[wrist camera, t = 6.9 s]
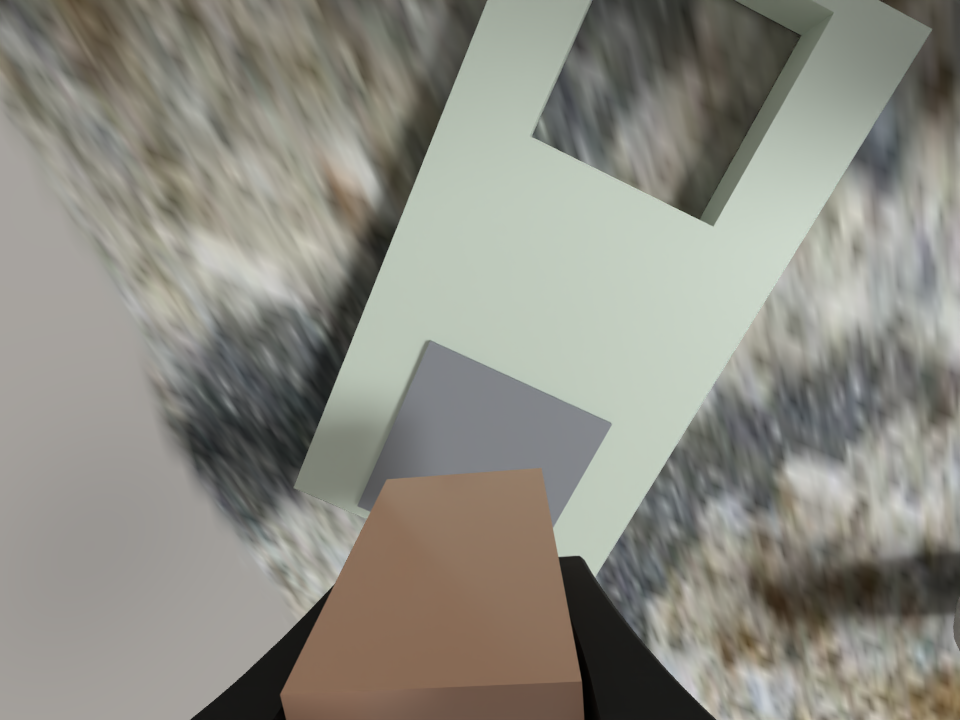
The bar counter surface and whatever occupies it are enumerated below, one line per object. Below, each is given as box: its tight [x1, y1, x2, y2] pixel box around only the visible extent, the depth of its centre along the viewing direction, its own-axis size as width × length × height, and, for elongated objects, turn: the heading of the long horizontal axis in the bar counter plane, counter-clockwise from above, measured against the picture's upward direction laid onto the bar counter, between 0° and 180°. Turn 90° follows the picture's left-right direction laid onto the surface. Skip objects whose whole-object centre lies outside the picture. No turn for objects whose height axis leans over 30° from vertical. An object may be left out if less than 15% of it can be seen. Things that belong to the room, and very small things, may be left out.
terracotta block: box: [280, 468, 584, 720], centre depth 9 cm, size 4×4×6 cm
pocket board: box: [294, 0, 932, 577], centre depth 16 cm, size 12×22×2 cm, turn 155°
